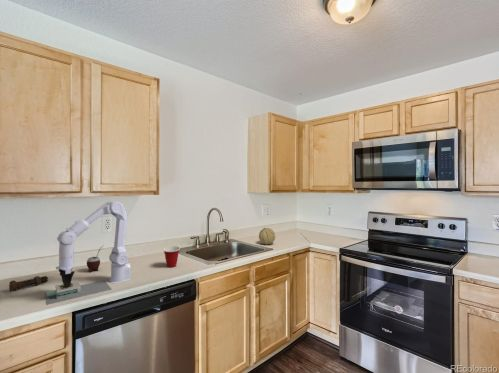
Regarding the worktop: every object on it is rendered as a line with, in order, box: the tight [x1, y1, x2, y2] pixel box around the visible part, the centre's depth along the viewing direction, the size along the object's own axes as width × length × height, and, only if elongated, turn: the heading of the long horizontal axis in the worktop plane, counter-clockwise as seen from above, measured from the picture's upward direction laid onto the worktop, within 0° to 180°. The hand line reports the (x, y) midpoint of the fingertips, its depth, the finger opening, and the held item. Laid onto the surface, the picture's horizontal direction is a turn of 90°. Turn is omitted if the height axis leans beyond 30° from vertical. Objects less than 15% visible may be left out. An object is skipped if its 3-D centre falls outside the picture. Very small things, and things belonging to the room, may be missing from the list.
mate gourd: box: [86, 244, 105, 273], centre depth 159 cm, size 8×8×15 cm
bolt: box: [8, 275, 49, 293], centre depth 134 cm, size 6×5×15 cm
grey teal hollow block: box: [45, 280, 81, 299], centre depth 123 cm, size 13×8×4 cm, turn 131°
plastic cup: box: [162, 245, 181, 268], centre depth 168 cm, size 11×11×12 cm
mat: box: [44, 280, 112, 306], centre depth 128 cm, size 26×16×1 cm, turn 131°
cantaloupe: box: [258, 227, 276, 245], centre depth 232 cm, size 15×15×15 cm
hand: (66, 284), depth 124 cm, fingers open, 5 cm apart
